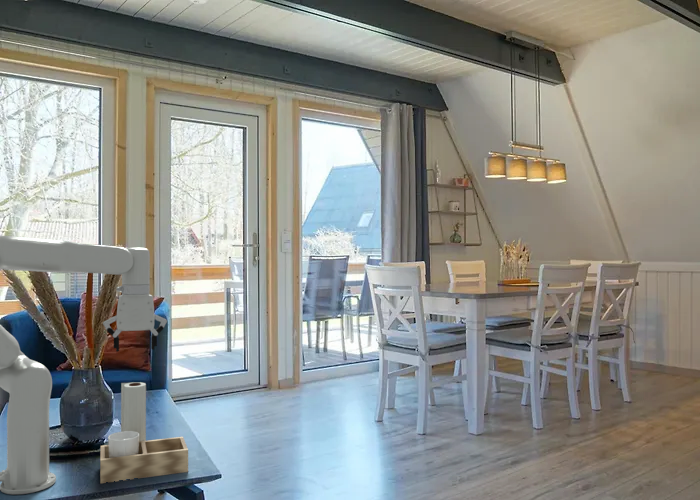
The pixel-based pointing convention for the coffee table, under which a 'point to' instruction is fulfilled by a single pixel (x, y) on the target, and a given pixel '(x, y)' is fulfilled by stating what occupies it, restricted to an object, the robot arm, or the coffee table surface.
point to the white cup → (123, 444)
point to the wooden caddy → (146, 460)
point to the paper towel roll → (134, 408)
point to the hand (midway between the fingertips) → (135, 349)
